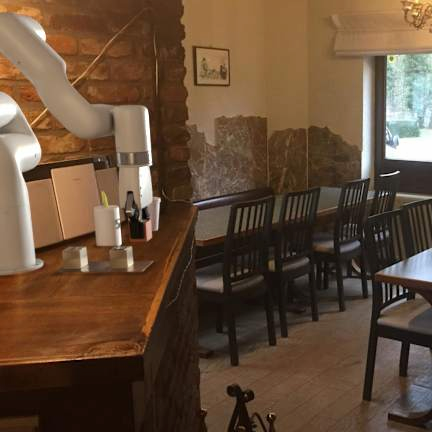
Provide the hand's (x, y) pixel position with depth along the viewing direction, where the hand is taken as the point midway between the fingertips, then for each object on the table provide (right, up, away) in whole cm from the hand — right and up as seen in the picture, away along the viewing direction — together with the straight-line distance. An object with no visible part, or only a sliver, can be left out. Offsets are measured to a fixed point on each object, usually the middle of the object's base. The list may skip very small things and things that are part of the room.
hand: (140, 235), depth 149 cm
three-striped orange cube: (0, -1, 0) cm, 1 cm away
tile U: (-5, -7, +1) cm, 9 cm away
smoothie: (-13, 0, +41) cm, 43 cm away
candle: (-18, -4, +23) cm, 29 cm away
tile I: (-16, -7, +1) cm, 17 cm away
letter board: (-9, -8, +1) cm, 12 cm away
